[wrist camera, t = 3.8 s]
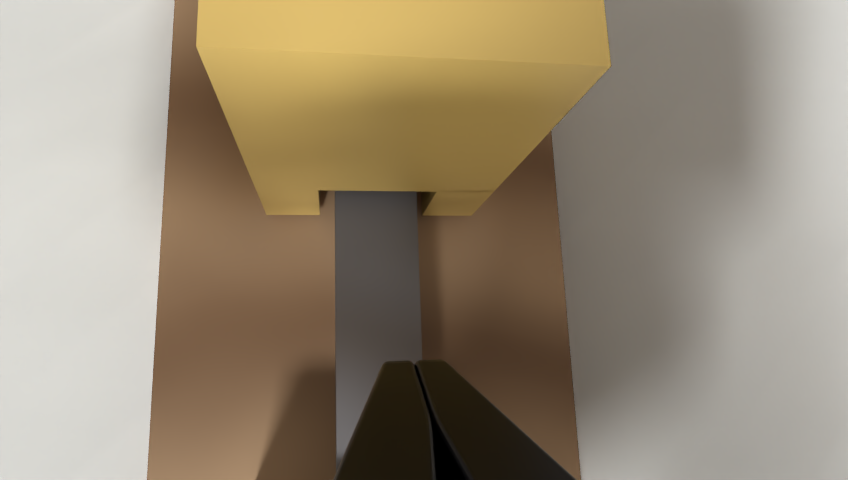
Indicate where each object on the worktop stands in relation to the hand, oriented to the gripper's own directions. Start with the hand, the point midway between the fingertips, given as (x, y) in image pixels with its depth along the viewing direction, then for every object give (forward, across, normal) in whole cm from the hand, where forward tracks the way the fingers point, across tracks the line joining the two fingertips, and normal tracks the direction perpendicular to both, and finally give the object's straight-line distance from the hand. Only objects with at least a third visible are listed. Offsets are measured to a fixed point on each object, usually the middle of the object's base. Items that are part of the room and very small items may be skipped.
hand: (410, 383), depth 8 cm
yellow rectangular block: (+10, 0, -1) cm, 10 cm away
